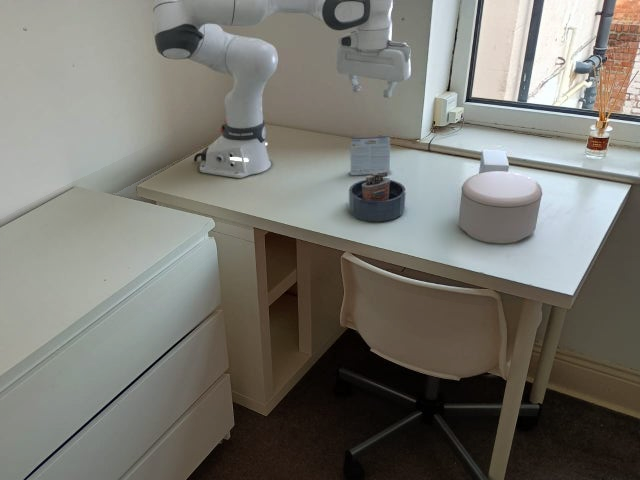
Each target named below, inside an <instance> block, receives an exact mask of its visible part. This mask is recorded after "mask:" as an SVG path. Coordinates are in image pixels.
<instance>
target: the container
mask: <svg viewBox="0 0 640 480" xmlns="http://www.w3.org/2000/svg"><path fill="white" fill-rule="evenodd" d="M542 197H543V189H542V187H541V185H540V183H539V182H538V181H536V180H534V179H533V178H532V177H529V176H528V175H524V174H522V173H516V172H512V171H508V172H502V171H494V172H485V173H480V174H479V173H476V174H474V175H472V176H470V177H468V178H467V179H466V180H465V181H464V182H463V184H462V186H461V193H460V203H459V212H458V226H459V227H460V228H461V230H463V231H464V232H465V233H466V234H467V235H468V236H470V237H471V238H473V239H475V240H478V241H481V242H485V243H490V244H511V243H516V242H519V241H521V240H523V239H525V238H527V237H529V236H531V235H532V234H533V233H534V232H535V231H536V228H537V224H538V222H537V221H538V218H539V212H540V207H541V200H542Z"/></svg>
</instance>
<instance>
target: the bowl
mask: <svg viewBox="0 0 640 480" xmlns="http://www.w3.org/2000/svg"><path fill="white" fill-rule="evenodd" d="M366 182H367V180H366V179H363V180H360V181H357V182H355V183H353V184H352V185H351V186H350V187H349V189H348V211H349V213H350V214H351V215H352V216H353V217H355V218H357V219H358V220H359V219H360V220H364V221H369V222H385V221H389V220H394V219H397V218H398V217H400V216H401V215H402V214H404V212H405V209H406V193H407V189H406V188H405V185H403V184H402V183H401V182H399V181H396V180H392V179H390V184H389V200H384V201H370V200H365V199H362V184H363V183H366Z"/></svg>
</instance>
